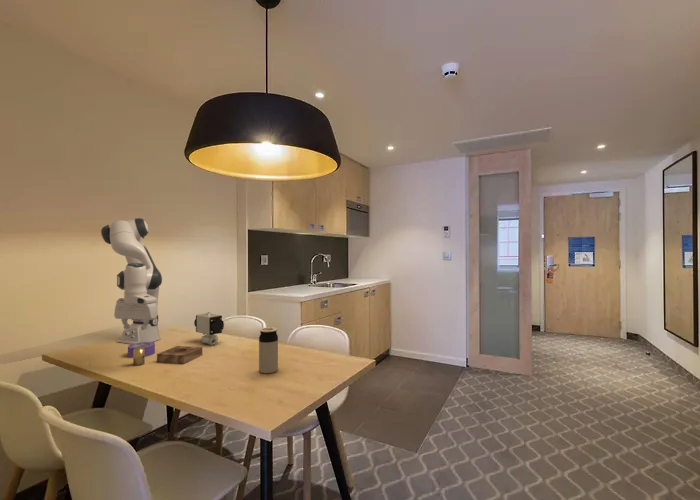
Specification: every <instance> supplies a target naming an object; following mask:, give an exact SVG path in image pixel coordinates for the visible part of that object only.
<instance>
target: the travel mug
mask: <svg viewBox="0 0 700 500" xmlns="http://www.w3.org/2000/svg"><path fill="white" fill-rule="evenodd" d="M277 331H278V328H277V327H272V326H271V327H269V326H268V327H262V328H260V329H259V332H260V335H259V337H258V372H259V373H262V374H265V373H266V374H267V375H268V373H269V374H272V373H273V374H274V373H276V372H278V370H279V335H278V333H277Z"/></svg>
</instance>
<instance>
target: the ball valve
mask: <svg viewBox="0 0 700 500" xmlns="http://www.w3.org/2000/svg"><path fill="white" fill-rule="evenodd" d="M193 325H194V326H195V332H196V333H198V334H202V336H201V337H200V341H201V343H203V344H206V345H210V346H213V345H215V344H216V343H217V342H218V340H219V336H218V335H217V334H223V330H224V327H225V323H224V320H223V316H222V315H220V314H216V313H215V314H213V313H211V312H210V311H209V312H207V313H200V314H196V315H195V319H194V322H193Z"/></svg>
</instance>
